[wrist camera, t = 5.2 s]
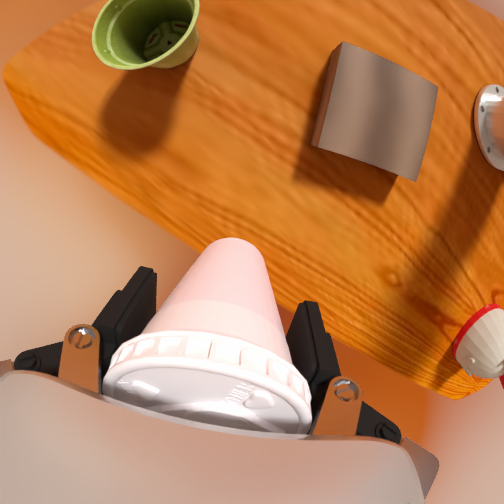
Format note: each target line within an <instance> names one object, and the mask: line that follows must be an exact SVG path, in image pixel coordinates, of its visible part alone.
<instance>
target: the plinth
mask: <svg viewBox="0 0 504 504" xmlns="http://www.w3.org/2000/svg"><path fill="white" fill-rule="evenodd" d="M437 92H438V87H437V86H436V85H434V84H432V83H431V82H429V81H427V80H426V79H424V78H422V77H420V76H419V75H417V74H415V73H413V72H411V71H409V70H407V69H406V68H404V67H402V66H400V65H398V64H396V63H394V62H392V61H389V60H387V59H385V58H383V57H381V56H379V55H376V54H374V53H372V52H369V51H367V50H364V49H362V48H359V47H357V46H354V45H352V44H349V43H346V42H344V41H342V42H341V43H340V44H339V45H338V46H337V47H336V48H335V49H334V50H333V51H332V54H331V58H330V63H329V67H328V71H327V76H326V80H325V84H324V89H323V93H322V97H321V101H320V105H319V109H318V114H317V118H316V122H315V126H314V130H313V134H312V138H311V142H310V145H312V146H315V147H319V148H322V149H325V150H329V151H332V152H335V153H338V154H342V155H345V156H348V157H351V158H354V159H357V160H360V161H363V162H365V163H368V164H371V165H374V166H377V167H379V168H382V169H385V170H387V171H390V172H392V173H395V174H397V175H400V176H402V177H405V178H407V179H410V180H412V181H414V182H416V181H417V177H418V174H419V171H420V167H421V164H422V160H423V156H424V153H425V149H426V145H427V141H428V137H429V132H430V128H431V123H432V119H433V114H434V109H435V103H436V98H437Z"/></svg>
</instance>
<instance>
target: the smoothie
mask: <svg viewBox="0 0 504 504" xmlns="http://www.w3.org/2000/svg"><path fill="white" fill-rule="evenodd" d="M102 390H103V395H105V396H107V397H110V398H113V399H116V400H119V401H121V402H124V403H127V404H130V405H134V406H137V407H140V408H143V409H147V410H150V411H154V412H158V413H161V414H165V415H169V416H173V417H177V418H181V419H186V420H190V421H195V422H200V423H205V424H211V425H216V426H222V427H228V428H235V429H243V430H251V431H260V432H270V433H284V434H305V435H306V434H307V433H308V432H309V430H310V428H311V424H312V414H311V406H310V402H311V393H310V390H309V386H308V383H307V381H306V379H305V378H304V377H303V376H302V375H301V374H300V372H299V371H298V370H297V369H296V368H295V367H294V365H293V364H292V360H291V355H290V351H289V347H288V345H287V342H286V338H285V334H284V331H283V327H282V323H281V320H280V316H279V313H278V309H277V305H276V302H275V298H274V295H273V291H272V287H271V284H270V280H269V277H268V273H267V270H266V266H265V262H264V259H263V257H262V255H261V253H260V252H259V251H258V249H257V248H256V247H255V246H253V245H252V244H251V243H249V242H247V241H245V240H242V239H238V238H223V239H219V240H217V241H215V242H213V243H211V244H210V245H209V246H208V247H207V248H206V249H205V250H204V251H203V253H202V254H201V255H200V256H199V258H198V259H197V260H196V262H195V263H194V264H193V265H192V267H191V268H190V269H189V270H188V272H187V273H186V274H185V276H184V277H183V278H182V280H181V281H180V282H179V284H178V285H177V286H176V287H175V289H174V290H173V291H172V293H171V294H170V296H169V297H168V298H167V299H166V301H165V302H164V303H163V305H162V306H161V307H160V309H159V310H158V311H157V313H156V314H155V315H154V317H153V318H152V319H151V320H150V322H149V323H148V324H147V326H146V327H145V329H144V330H143V332H142V333H141V334H140V335H139V336H137V337H135V338H132V339H130V340H128V341H126V342H124V343H122V345H121V346H120V347H119V348H118V349H117V351H116V352H115V353H114V354H113V355H112V358H111V364H110V367H109V369H108V371H107V373H106V375H105V377H104V379H103V383H102Z"/></svg>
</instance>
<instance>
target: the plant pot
mask: <svg viewBox="0 0 504 504" xmlns="http://www.w3.org/2000/svg"><path fill="white" fill-rule="evenodd" d="M199 9H200V7H199V0H109V1H108V2H107V3H106V5H105V6H104V7H103V8H102V10H101V11H100V13H99V15H98V17H97V19H96V21H95V24H94V27H93V33H92V45H93V49H94V52H95V54H96V55H97V57H98V58H99V59H100V61H102V62H103V63H104V64H106V65H107V66H109V67H112V68H115V69H120V70H135V69H140V68H145V67H148V66H150V67H157V68H172V67H175V66H178V65H180V64H182V63H184V62H186V61H187V60H188V59H189V58H190V57H191V56H192V55H193V54H194V52H195V51H196V49H197V46H198V42H199V36H198V31H197V27H196V22H197V19H198V16H199ZM177 24H180V25H184V26H186V29H184V28H181V27H178V26H175V25H177ZM154 34H157V35H156V37H155V38H154V39H153V41H152V43H151V44H150V40H151V38H152V36H153V35H154ZM168 41H171V42H172V44H170V45H169V44H167V43H168Z"/></svg>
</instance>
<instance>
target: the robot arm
mask: <svg viewBox="0 0 504 504" xmlns="http://www.w3.org/2000/svg"><path fill="white" fill-rule="evenodd" d="M474 124H475V131H476V136H477V140H478V143H479V146H480V149H481V151H482V153H483V155H484V157H485V158H486V160H487V161H488V163H489V164H491V165H492V166H493V167H494V168H496V169H499V170H502V171H504V88H503V87H501V86H499V85H495V84H494V85H487V86H484V87H483V88H482V89H481V90H480V92H479V94H478V96H477V99H476V102H475V108H474ZM156 286H157V273H154V272H153V269H152V268H147V267H143V266H140V267H139V268H138V270H137V271H136V273H135V274H134V275H133V276H132V278H131V279H130V280H129V282H128V283H127V285H126V286H125V287H124V289H123V290H122V291H121V290H117V291H116V292H115V294H114V295H113V296H112V298H111V299H110V300H109V302H108V303H107V304H106V306H105V307H104V308H103V310H102V312H101V313H100V314H99V316H98V317H97V318H96V320H95V321H94V323H93V324H92V326H90V325H86V324H79V325H75V326H73V327H71V328H70V329H69V330H68V331H67V332H66V334H65V337H64V341H62V342H58V343H55V344H51V345H47V346H43V347H39V348H35V349H31V350H27V351H24V352H22V353H20V354H19V355H18V356H17V357H16V359H15V361H14V362H12V361H11V359H9V360H5V361H1V362H0V504H425V501H424V500H425V498H426V496H427V494H428V492H429V490H430V488H431V486H432V484H433V481H434V479H435V477H436V475H437V472H438V469H439V461H438V459H437V458H436V457H435V456H434V455H433V454H431V453H430V452H428V451H427V450H425V449H424V448H422V447H421V446H419V445H417V444H416V443H414V442H413V441H411V440H410V439H408V438H407V437H405V438H402V437H401V432H400V430H399V428H398V427H397V426H396V425H395V424H394V423H393V422H391V421H390V420H389V419H387V418H386V417H384V416H383V415H381V414H380V413H379V412H377V411H376V410H374V409H373V408H372V407H370V406H369V405H367V404H366V403H365V402H363V401H362V398H363V392H362V388H361V386H360V385H359V384H358V383H357V382H356V381H355V380H353V379H351V378H349V377H345V376H341V373H340V369H339V365H338V362H337V358H336V354H335V350H334V346H333V343H332V339H331V336H330V334H329V333H326V332H325V328H324V325H323V321H322V317H321V313H320V310H319V306H318V303H317V302H312V301H306V300H305V301H304V302H303V303H299V305H298V307H297V310H296V312H295V315H294V318H293V320H292V323H291V325H290V328H289V330H288V333H287V335H286V337H285V338H286V342H287V345H288V347H289V351H290V355H291V360H292V364H293V365H294V367H295V368H296V369H297V370H298V371H299V372H300V374H301V375H302V376H303V377H304V378H305V379H306V381H307V383H308V386H309V390H310V393H311V402H310V406H311V414H312V424H311V428H310V430H309V432H308V433H307V434H306V435H305V434H284V433H270V432H260V431H251V430H243V429H235V428H228V427H222V426H216V425H211V424H205V423H200V422H195V421H190V420H186V419H181V418H177V417H173V416H169V415H165V414H161V413H158V412H154V411H150V410H147V409H143V408H140V407H137V406H134V405H130V404H127V403H124V402H121V401H119V400H116V399H113V398H110V397H107V396H105V395H103V390H102V383H103V379H104V377H105V375H106V373H107V371H108V369H109V367H110V364H111V358H112V355H113V354H114V353H115V352H116V351H117V349H118V348H119V347H120V346H121V345H122V343H124V342H126V341H128V340H130V339H132V338H135V337H137V336H139V335H140V334H141V333H142V332H143V330H144V329H145V327H146V326H147V324H148V323H149V322H150V320H151V319H152V318H153V317H154V315H155V314H156Z"/></svg>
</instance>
